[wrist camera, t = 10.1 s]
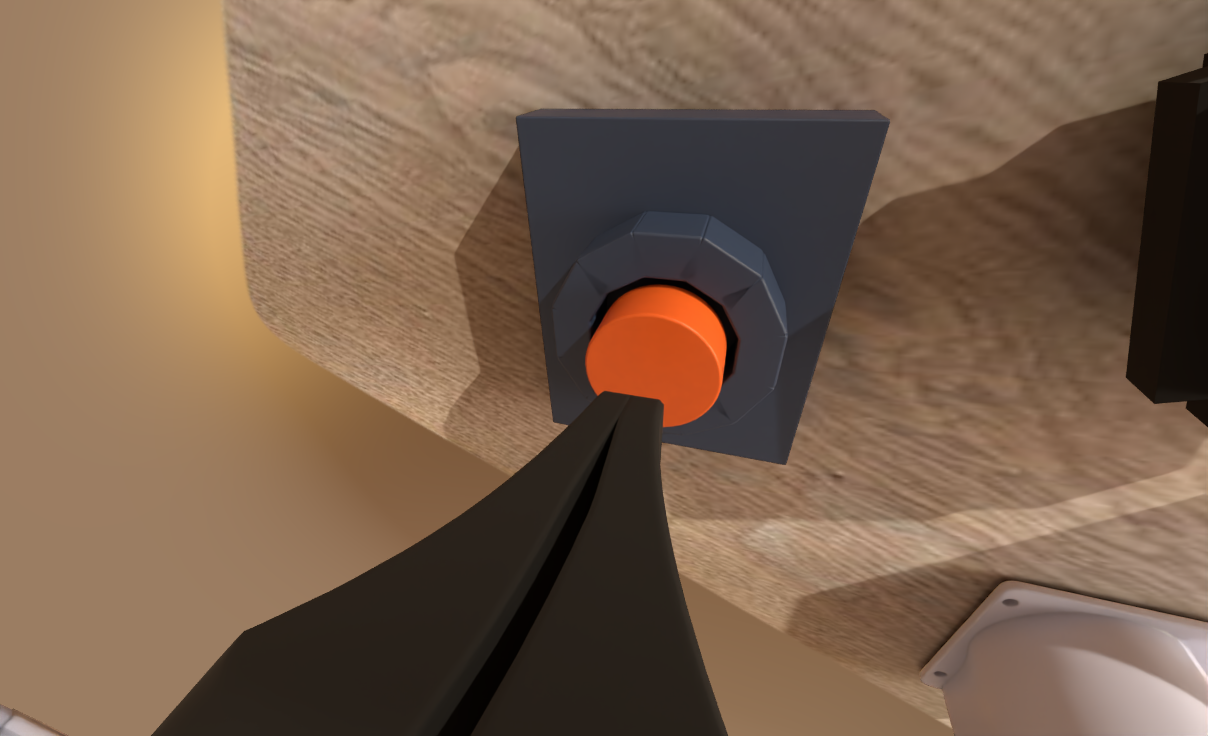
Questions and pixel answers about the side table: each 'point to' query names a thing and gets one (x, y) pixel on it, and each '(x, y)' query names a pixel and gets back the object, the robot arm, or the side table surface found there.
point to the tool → (1175, 252)
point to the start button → (660, 351)
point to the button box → (699, 243)
